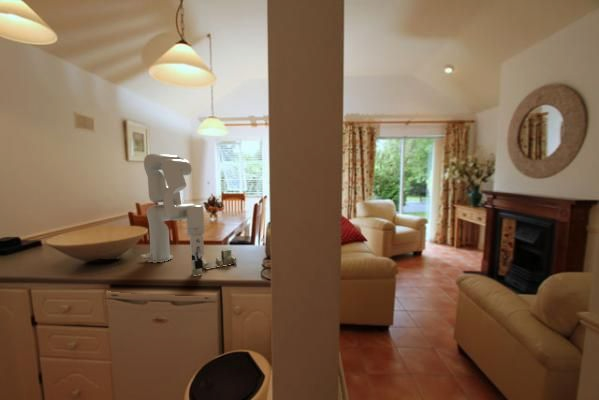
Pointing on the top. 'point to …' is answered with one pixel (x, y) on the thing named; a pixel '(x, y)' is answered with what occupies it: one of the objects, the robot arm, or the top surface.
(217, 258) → the rail board
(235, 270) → the top surface
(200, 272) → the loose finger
